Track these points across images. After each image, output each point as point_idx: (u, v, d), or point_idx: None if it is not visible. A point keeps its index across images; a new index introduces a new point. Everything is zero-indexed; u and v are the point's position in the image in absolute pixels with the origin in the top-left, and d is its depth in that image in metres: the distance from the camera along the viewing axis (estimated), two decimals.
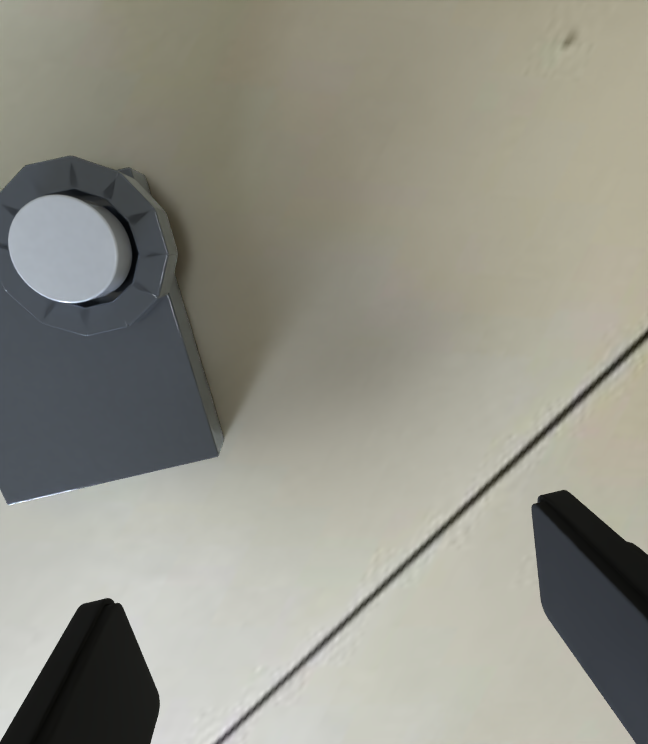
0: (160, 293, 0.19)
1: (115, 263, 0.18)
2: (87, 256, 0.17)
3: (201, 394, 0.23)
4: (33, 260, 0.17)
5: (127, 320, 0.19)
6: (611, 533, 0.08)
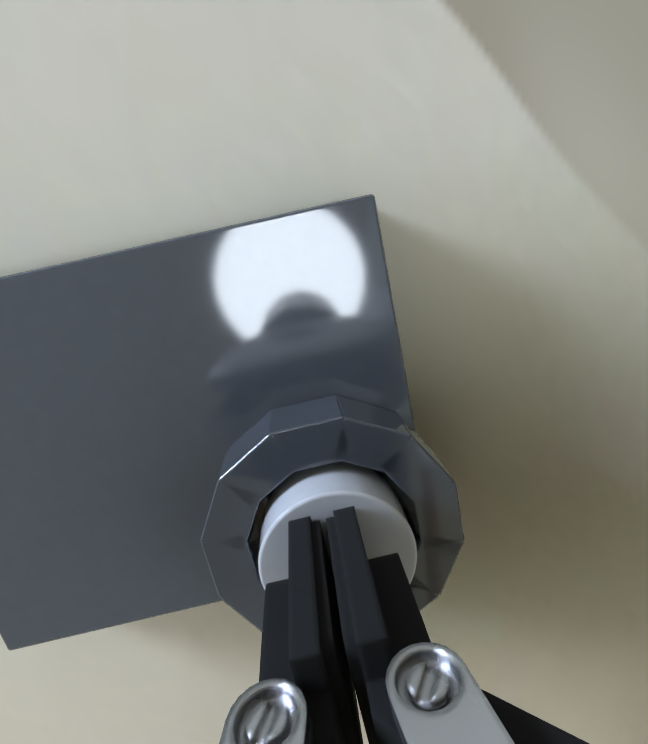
0: None
1: None
2: None
3: None
4: (324, 525, 0.11)
5: (229, 597, 0.12)
6: None
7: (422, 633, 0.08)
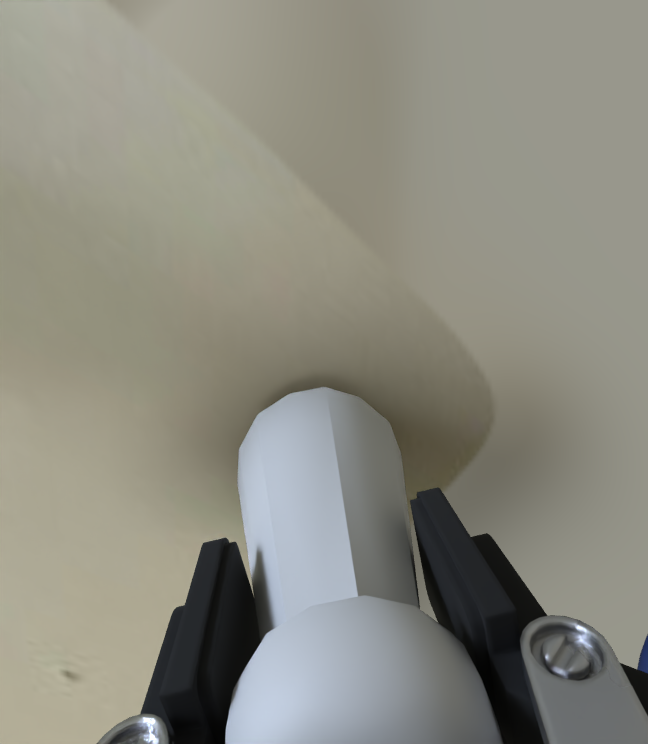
0: None
1: None
2: None
3: None
4: None
5: None
6: (461, 525, 0.09)
7: (537, 609, 0.08)
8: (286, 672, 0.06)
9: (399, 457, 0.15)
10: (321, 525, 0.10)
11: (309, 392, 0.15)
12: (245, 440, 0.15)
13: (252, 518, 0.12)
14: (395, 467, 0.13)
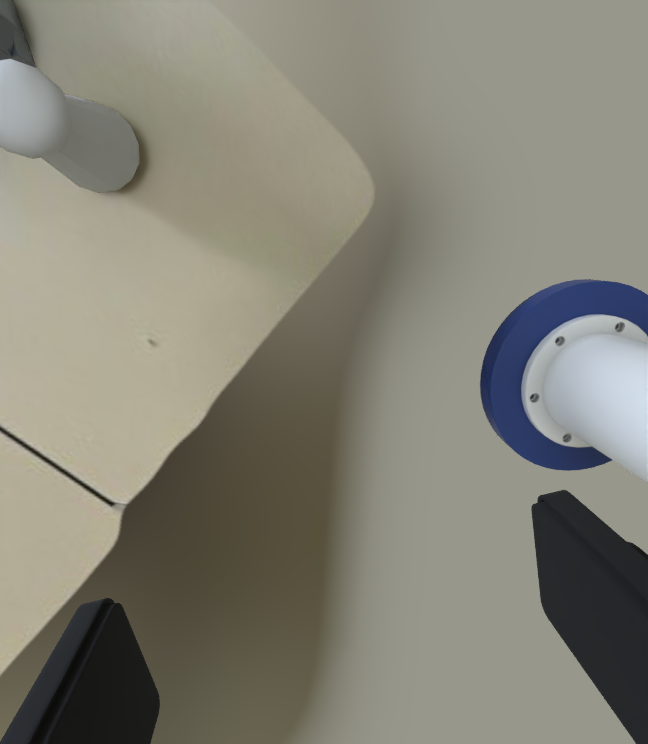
0: None
1: None
2: None
3: None
4: None
5: None
6: (611, 533, 0.08)
7: None
8: None
9: (129, 134, 0.31)
10: None
11: None
12: None
13: None
14: (107, 115, 0.29)
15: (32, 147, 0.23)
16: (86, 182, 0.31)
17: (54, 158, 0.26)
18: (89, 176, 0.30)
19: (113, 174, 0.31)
